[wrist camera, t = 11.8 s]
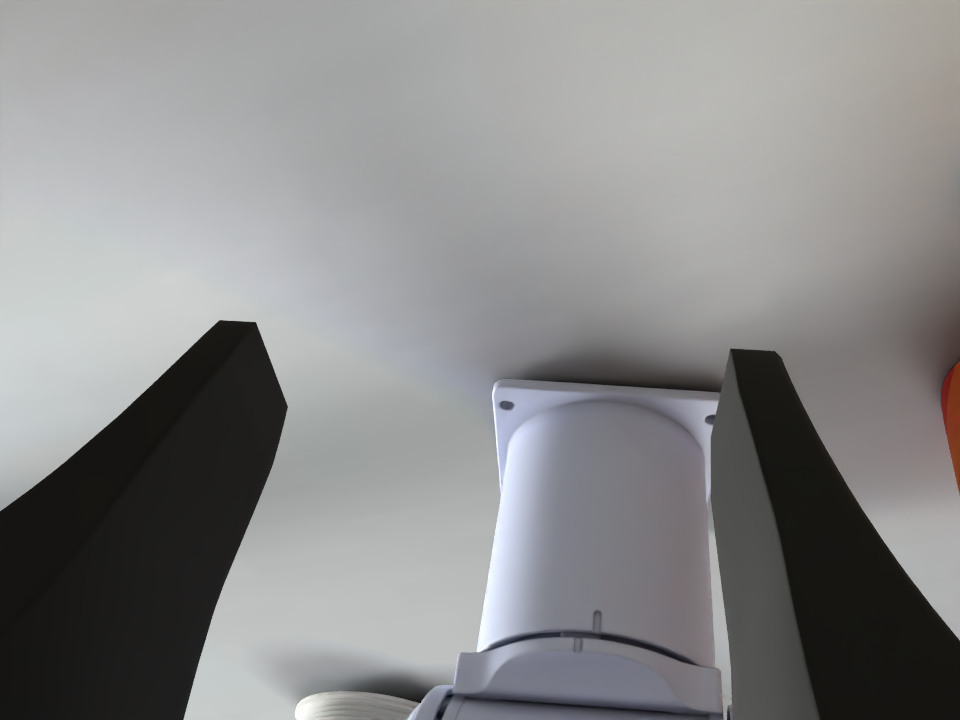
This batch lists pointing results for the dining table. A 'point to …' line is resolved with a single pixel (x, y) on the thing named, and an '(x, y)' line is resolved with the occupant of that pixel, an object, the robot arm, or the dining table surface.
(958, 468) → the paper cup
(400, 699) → the lid
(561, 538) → the robot arm
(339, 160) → the dining table surface
